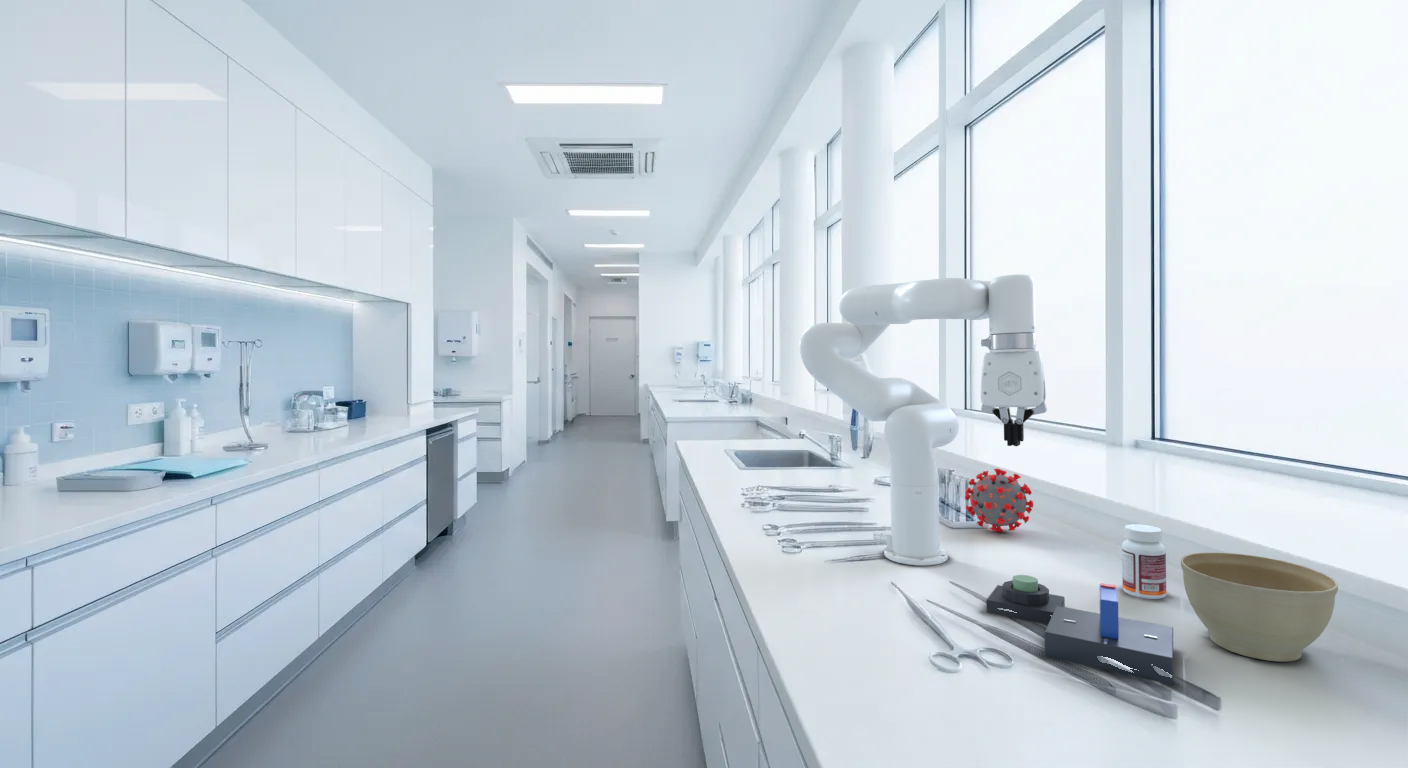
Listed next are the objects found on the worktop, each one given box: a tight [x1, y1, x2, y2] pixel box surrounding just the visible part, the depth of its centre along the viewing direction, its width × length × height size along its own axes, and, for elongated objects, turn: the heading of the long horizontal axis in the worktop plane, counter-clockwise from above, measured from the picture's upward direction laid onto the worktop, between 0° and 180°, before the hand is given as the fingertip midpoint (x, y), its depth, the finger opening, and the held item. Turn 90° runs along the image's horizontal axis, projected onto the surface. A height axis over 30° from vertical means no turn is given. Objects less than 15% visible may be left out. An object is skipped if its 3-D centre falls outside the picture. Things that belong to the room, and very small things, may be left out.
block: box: [985, 579, 1066, 626], centre depth 100 cm, size 10×8×4 cm
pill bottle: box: [1121, 523, 1167, 600], centre depth 106 cm, size 6×6×11 cm
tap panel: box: [1044, 606, 1174, 686], centre depth 85 cm, size 14×11×4 cm
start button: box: [1012, 574, 1039, 592], centre depth 100 cm, size 4×4×2 cm
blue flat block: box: [1098, 582, 1119, 639], centre depth 85 cm, size 6×2×5 cm, turn 148°
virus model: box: [964, 468, 1034, 533], centre depth 147 cm, size 14×15×15 cm
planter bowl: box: [1180, 551, 1339, 663], centre depth 86 cm, size 16×16×11 cm
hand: (1013, 445), depth 113 cm, fingers closed
